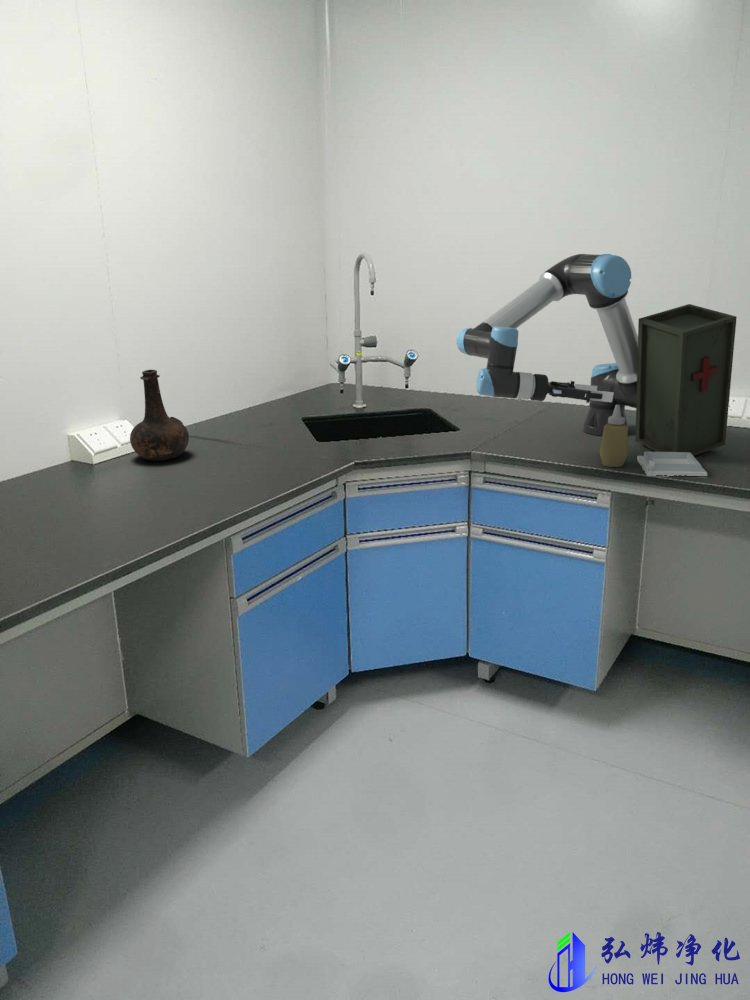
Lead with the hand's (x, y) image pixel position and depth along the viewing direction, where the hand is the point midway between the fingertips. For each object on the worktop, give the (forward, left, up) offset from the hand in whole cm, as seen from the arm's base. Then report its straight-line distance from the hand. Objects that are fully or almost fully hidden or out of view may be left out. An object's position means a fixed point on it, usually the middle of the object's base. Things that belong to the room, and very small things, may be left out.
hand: (604, 393), depth 216 cm
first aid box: (-19, +27, -19) cm, 38 cm away
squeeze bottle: (-1, +4, -22) cm, 22 cm away
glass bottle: (+1, -136, -22) cm, 138 cm away
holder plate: (+1, +20, -21) cm, 29 cm away
